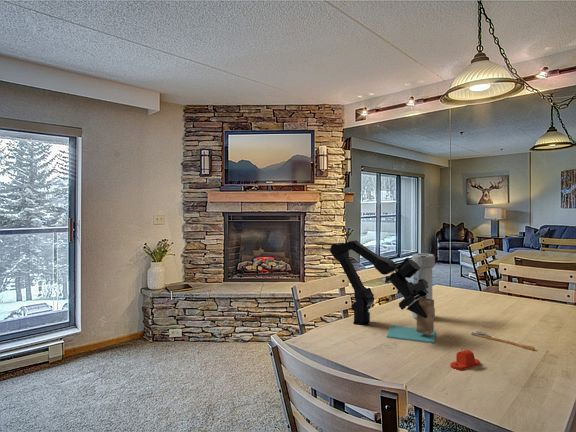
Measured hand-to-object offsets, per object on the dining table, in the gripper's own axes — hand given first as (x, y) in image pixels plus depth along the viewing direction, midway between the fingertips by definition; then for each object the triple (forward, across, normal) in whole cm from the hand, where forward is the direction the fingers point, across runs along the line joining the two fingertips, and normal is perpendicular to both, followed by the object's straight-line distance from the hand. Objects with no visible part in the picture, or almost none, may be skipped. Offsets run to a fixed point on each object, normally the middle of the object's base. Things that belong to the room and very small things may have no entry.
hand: (428, 316), depth 143 cm
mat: (+1, -1, +11) cm, 11 cm away
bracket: (+19, -18, -6) cm, 27 cm away
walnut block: (+4, 0, +6) cm, 7 cm away
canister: (-1, +25, +14) cm, 29 cm away
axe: (+23, +16, -10) cm, 29 cm away
